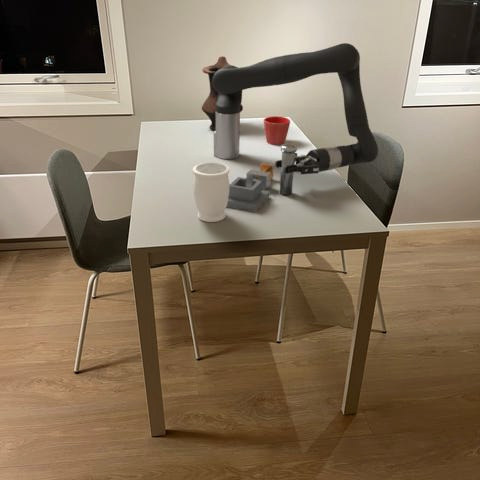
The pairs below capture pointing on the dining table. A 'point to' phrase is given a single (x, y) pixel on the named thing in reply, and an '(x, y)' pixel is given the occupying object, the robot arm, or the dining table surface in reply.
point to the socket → (246, 195)
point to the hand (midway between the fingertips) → (280, 167)
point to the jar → (211, 190)
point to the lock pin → (266, 170)
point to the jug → (213, 92)
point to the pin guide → (262, 177)
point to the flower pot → (276, 129)
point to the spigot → (287, 160)
